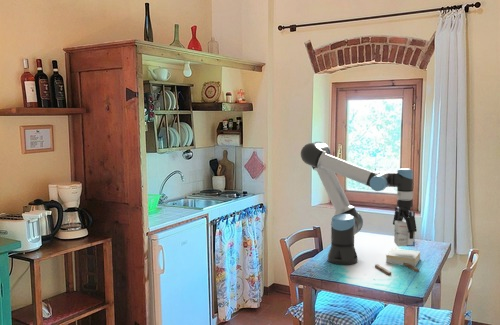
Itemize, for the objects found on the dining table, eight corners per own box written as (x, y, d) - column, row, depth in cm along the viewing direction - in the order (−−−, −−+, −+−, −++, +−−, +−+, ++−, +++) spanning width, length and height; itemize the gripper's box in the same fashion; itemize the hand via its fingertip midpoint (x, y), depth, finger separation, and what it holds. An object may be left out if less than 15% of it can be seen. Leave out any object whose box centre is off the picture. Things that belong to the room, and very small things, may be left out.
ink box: (410, 242, 240) (411, 220, 239) (414, 246, 232) (415, 223, 231) (393, 242, 241) (394, 220, 240) (397, 246, 233) (397, 223, 231)
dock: (386, 262, 235) (386, 254, 234) (392, 255, 247) (392, 247, 246) (415, 266, 228) (415, 258, 227) (420, 259, 240) (420, 251, 239)
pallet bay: (375, 267, 228) (375, 264, 228) (404, 264, 232) (404, 261, 232) (388, 275, 216) (388, 272, 216) (418, 271, 221) (419, 269, 220)
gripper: (386, 195, 244) (385, 237, 246) (411, 203, 222) (410, 248, 224) (398, 195, 246) (398, 235, 248) (425, 202, 224) (424, 247, 226)
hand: (404, 241), depth 236 cm, fingers closed on ink box, 10 cm apart
